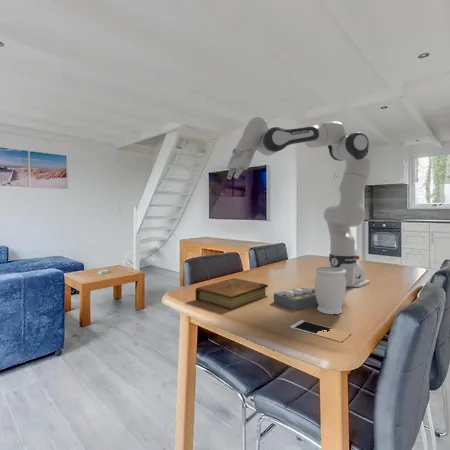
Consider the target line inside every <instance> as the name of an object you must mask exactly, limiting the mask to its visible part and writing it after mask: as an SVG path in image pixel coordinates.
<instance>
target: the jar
mask: <svg viewBox="0 0 450 450" xmlns="http://www.w3.org/2000/svg"><path fill="white" fill-rule="evenodd" d="M314 269H315V273H316V275H315V279H314V291H315V293H316V299H317V303H318V306H317V311H318V312H320V313H322V314H325V315H330V314H331V315H333V314H337V315H340V313H341V314H342V313H343V310H342V306H343V304H344V302H345V295H346V290H347V286H346V280H345V276H344V275H345V274H346V270H344V269H341V268H335V267H328V266H317V267H315V268H314ZM331 315H330V316H331ZM333 316H334V315H333Z"/></svg>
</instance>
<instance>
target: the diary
mask: <svg viewBox="0 0 450 450" xmlns="http://www.w3.org/2000/svg"><path fill="white" fill-rule="evenodd" d="M268 286H269V285H268V284H265V283H259V282H255V281H252V280H251V281H249V280H246V279H240V278H236V277H235V278H234V277H233V278H230V279H229V278H228V279H225V280H220V281H218V282H213V283H210V284H206V285H201V286H198V287H196V288H195V301H197V302H200V303H204V304H208V305H211V306H215V307H217V308H222V309H225V310H229V311H235V310H237V309H239V308H243V307H245V306H248V305H250V304H254V303H256V302H257V301H261V300H263V299H266V298H268V295H266V288H268Z"/></svg>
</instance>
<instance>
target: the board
mask: <svg viewBox="0 0 450 450" xmlns="http://www.w3.org/2000/svg"><path fill="white" fill-rule="evenodd" d="M295 289H296V288H293V289H290V290H291V291H294V297H292V298H288V297H285V295H286V291H287V290H285V291H280V292H276V293H273V303H274V304H277V305H280V306H282V307H285V308H288V309H291V310H292V311H297V310H301V309H305V308H311V307H313V306H317V305H318V303H317V299H316V293H315V290H312V293H311V294H307V293H304V287H300V288H298V289H303V295H301V296H298V295H295ZM318 306H319V305H318Z"/></svg>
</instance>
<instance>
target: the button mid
mask: <svg viewBox="0 0 450 450" xmlns="http://www.w3.org/2000/svg"><path fill="white" fill-rule="evenodd" d="M294 289H295V295H298V296H301V295H303V289H299V288H294Z"/></svg>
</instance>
